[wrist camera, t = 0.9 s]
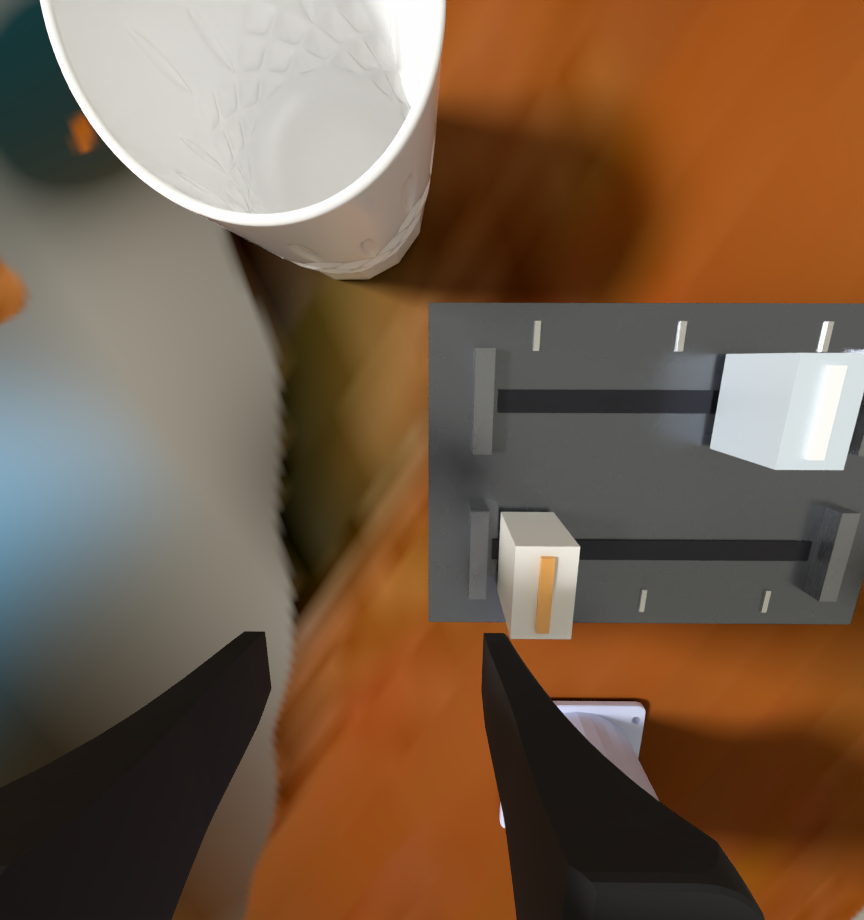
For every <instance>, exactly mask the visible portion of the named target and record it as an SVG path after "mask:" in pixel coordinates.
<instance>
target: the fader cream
mask: <svg viewBox="0 0 864 920" xmlns="http://www.w3.org/2000/svg"><path fill="white" fill-rule="evenodd" d="M579 554H580V546H579V544H578V543H577V542H576V541H575V539H574V538H573V537H572V535H571V534H570V533H569V532H568V530H567V529H566V528H565V526H564V525H563V524H562V522H561V521H560V520H559V519H558V517H557V516H556V515H555V513H554V512H501V518H500V539H499V561H498V582H497V591H498V595H499V599H500V602H501V606H502V610H503V613H504V617H505V621H506V625H507V628H508V632H509V636H510V639H571V633H572V623H573V613H574V604H575V594H576V584H577V574H578V564H579Z"/></svg>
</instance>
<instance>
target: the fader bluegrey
mask: <svg viewBox="0 0 864 920" xmlns="http://www.w3.org/2000/svg"><path fill="white" fill-rule="evenodd" d="M863 393H864V353H755V354H726V358H725V364H724V370H723V375H722V381H721V387H720V393H719V398H718V404H717V410H716V415H715V421H714V427H713V433H712V438H711V444H710V449H713V450H716V451H719V452H722V453H725V454H728V455H731V456H734V457H737V458H740V459H743V460H747V461H750V462H753V463H756V464H759V465H762V466H765V467H768V468H771V469H774V470H844V466H845V462H846V458H847V455H848V451H849V447H850V443H851V439H852V435H853V432H854V428H855V424H856V420H857V416H858V412H859V409H860V405H861V401H862V397H863Z"/></svg>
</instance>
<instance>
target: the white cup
mask: <svg viewBox="0 0 864 920" xmlns="http://www.w3.org/2000/svg"><path fill="white" fill-rule="evenodd" d="M40 3H41V8H42V12H43V17H44V20H45V25H46V28H47V32H48V35H49V38H50V41H51V45H52V47H53V50H54V53H55V56H56V58H57V61H58V63H59V66H60V68H61V71H62V73H63V75H64V77H65V80H66V82H67V84H68V86H69V88H70V90H71V92H72V94H73V96H74V97H75V99H76V101H77V103H78V104H79V106H80V108H81V109H82V111H83V113H84V114H85V116H86V117H87V119H88V120H89V122H90V123H91V125H92V126H93V128H94V129H95V130H96V132H97V133H98V134H99V136H100V137H101V138H102V140H103V141H104V142H105V143H106V145H107V146H108V147H109V148H110V149H111V150H112V151H113V153H114V154H115V155H116V156H117V157H118V158H119V159H120V160H121V161H122V162H123V163H124V164H125V165H126V166H127V167H128V168H129V169H130V170H131V171H132V172H133V173H134V174H136V175H137V176H138V177H139V178H140V179H141V180H143V181H144V182H145V183H146V184H148V185H149V186H150V187H152V188H153V189H154V190H156V191H157V192H159V193H160V194H162V195H163V196H165V197H166V198H168V199H170V200H171V201H173V202H175V203H177V204H178V205H180V206H182V207H184V208H186V209H188V210H190V211H192V212H194V213H196V214H198V215H200V216H202V217H204V218H206V219H208V220H210V221H212V222H214V223H216V224H218V225H220V226H222V227H224V228H226V229H227V230H229V231H231V232H233V233H235V234H237V235H239V236H241V237H243V238H245V239H247V240H248V241H250V242H253V243H255V244H257V245H258V246H260V247H262V248H264V249H266V250H268V251H270V252H272V253H274V254H276V255H278V256H280V257H281V258H283V259H286V260H289V261H291V262H294V263H296V264H298V265H300V266H302V267H305V268H308V269H313V270H316V271H319V272H321V273H323V274H325V275H327V276H329V277H331V278H333V279H335V280H347V279H370V278H372V277H374V276H376V275H378V274H380V273H381V272H383V271H385V270H387V269H389V268H390V267H392V266H394V265H396V264H398V263H399V262H400V261H401V259H402V258H403V256H404V255H405V253H406V252H407V251H408V249H409V248H410V246H411V245H412V243H413V242H414V241H415V239H416V238H417V236H418V235H419V233H420V229H421V224H422V218H423V213H424V208H425V202H426V198H427V195H428V191H429V186H430V178H431V174H432V164H433V157H434V148H435V136H436V124H437V110H438V98H439V86H440V74H441V63H442V52H443V41H444V30H445V18H446V0H40Z"/></svg>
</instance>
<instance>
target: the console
mask: <svg viewBox="0 0 864 920" xmlns="http://www.w3.org/2000/svg"><path fill="white" fill-rule="evenodd" d="M755 353H864V304H775V303H429V622H506V621H505V617H504V613H503V610H502V606H501V602H500V599H499V595H498V591H497V582H498V561H499V539H500V518H501V512H554V513H555V515H556V516H557V517H558V519H559V520H560V521H561V522H562V524H563V525H564V526H565V528H566V529H567V530H568V532H569V533H570V534H571V535H572V537H573V538H574V539H575V541H576V542H577V543H578V544H579V546H580V554H579V564H578V574H577V584H576V594H575V604H574V613H573V623H719V624H850V623H851V620H852V616H853V613H854V610H855V606H856V603H857V599H858V596H859V593H860V589H861V586H862V582H863V579H864V393H863V397H862V401H861V405H860V409H859V412H858V416H857V420H856V424H855V428H854V432H853V435H852V439H851V443H850V447H849V451H848V455H847V458H846V462H845V466H844V470H774V469H771V468H768V467H765V466H762V465H759V464H756V463H753V462H750V461H747V460H743V459H740V458H737V457H734V456H731V455H728V454H725V453H722V452H719V451H716V450H713V449H710V444H711V438H712V433H713V427H714V421H715V415H716V410H717V404H718V398H719V393H720V387H721V381H722V375H723V370H724V364H725V358H726V354H755Z"/></svg>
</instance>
